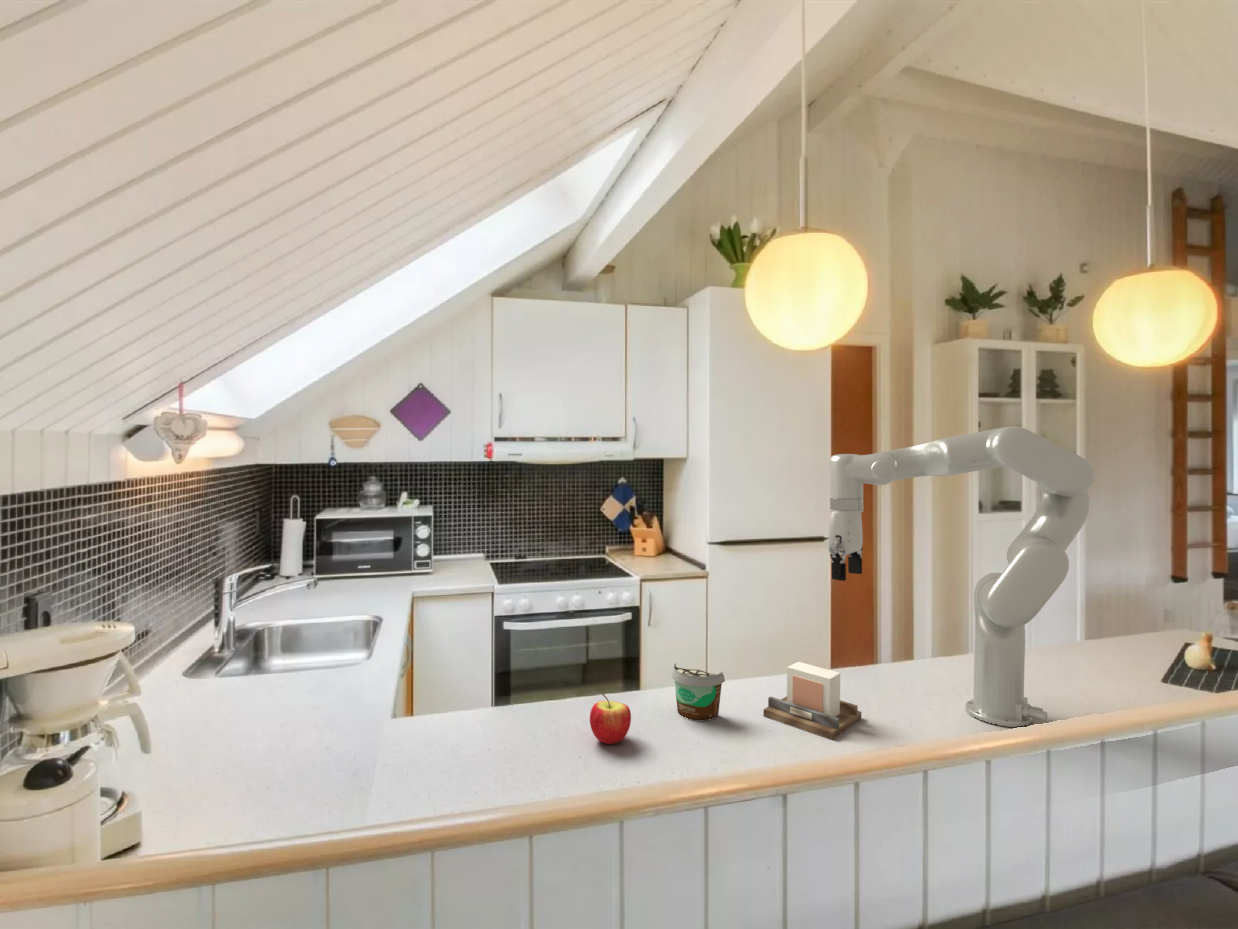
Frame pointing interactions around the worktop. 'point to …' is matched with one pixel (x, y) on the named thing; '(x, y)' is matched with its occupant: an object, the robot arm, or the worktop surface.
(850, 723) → the shelf
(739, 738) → the worktop surface
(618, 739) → the apple
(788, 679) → the box
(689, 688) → the food container
